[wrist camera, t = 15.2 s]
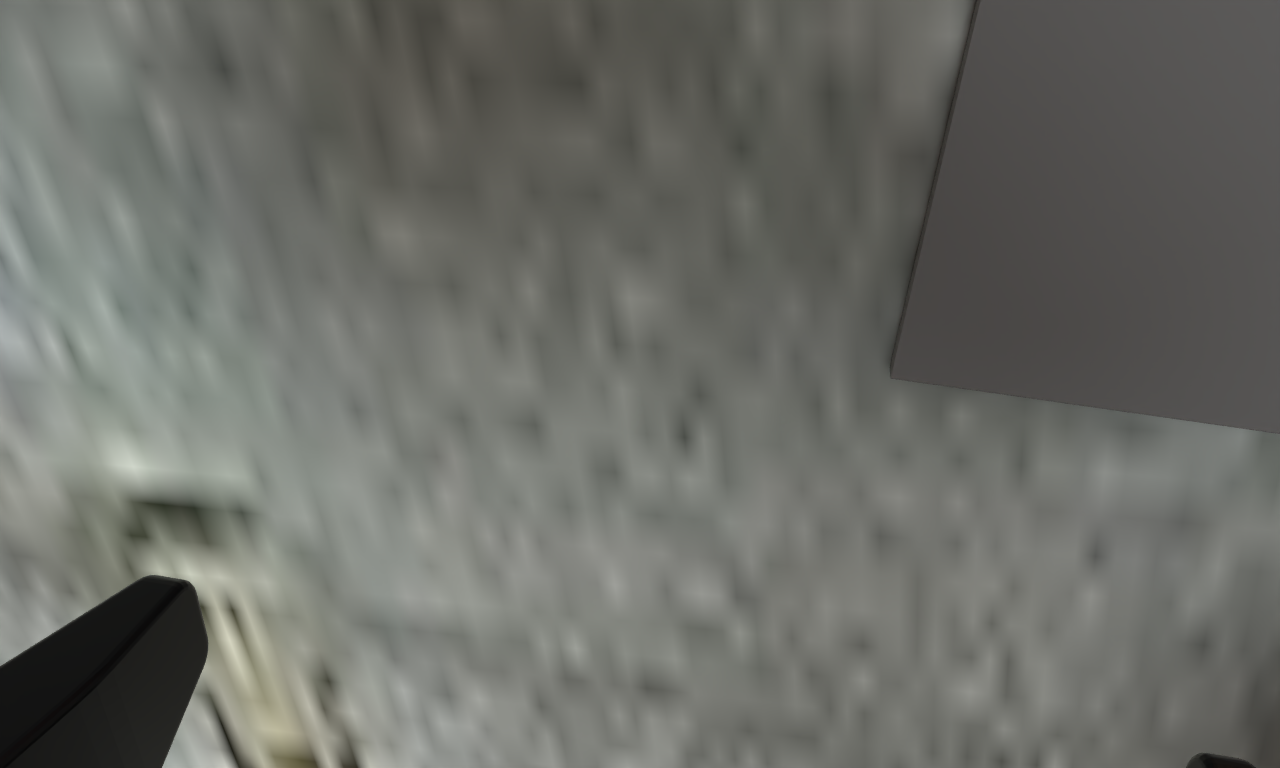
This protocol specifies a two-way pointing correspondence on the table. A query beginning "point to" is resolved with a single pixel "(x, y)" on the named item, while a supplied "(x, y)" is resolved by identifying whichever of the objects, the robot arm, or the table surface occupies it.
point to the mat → (1108, 212)
